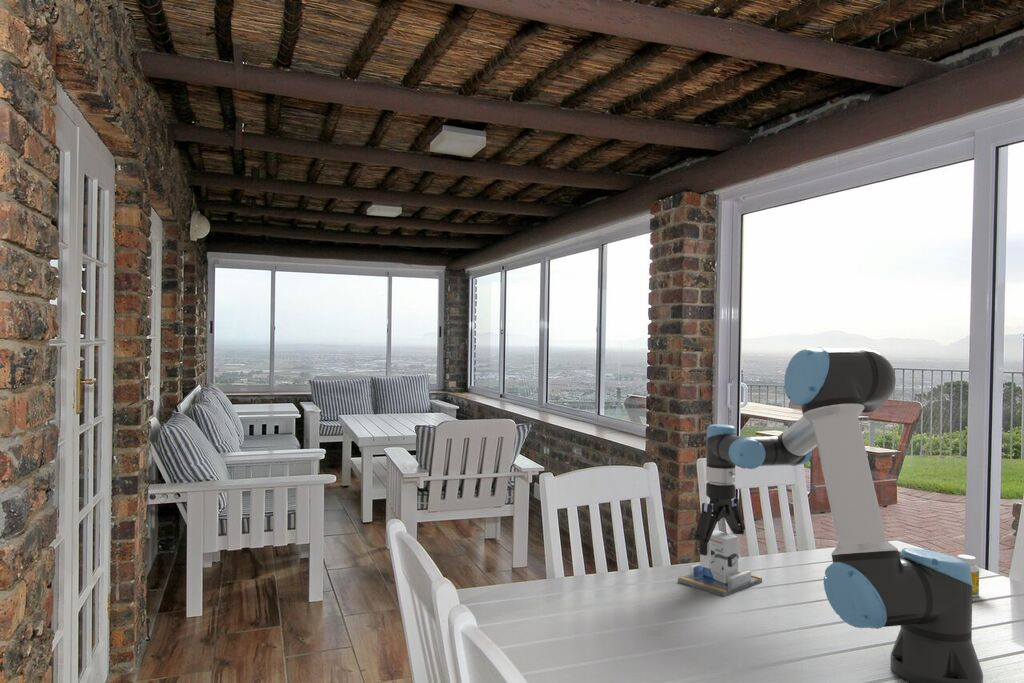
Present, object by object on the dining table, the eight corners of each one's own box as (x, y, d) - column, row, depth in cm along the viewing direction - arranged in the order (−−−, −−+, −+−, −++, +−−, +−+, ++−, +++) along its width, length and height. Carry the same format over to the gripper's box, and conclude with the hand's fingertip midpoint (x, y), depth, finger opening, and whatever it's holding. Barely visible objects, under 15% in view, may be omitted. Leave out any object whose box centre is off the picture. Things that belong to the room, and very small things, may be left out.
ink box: (701, 574, 189) (702, 531, 189) (715, 572, 192) (715, 529, 192) (724, 584, 182) (725, 539, 182) (738, 581, 184) (739, 536, 184)
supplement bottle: (952, 589, 183) (952, 552, 183) (976, 592, 181) (976, 555, 181) (956, 595, 178) (956, 558, 178) (981, 599, 176) (981, 560, 176)
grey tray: (723, 596, 175) (724, 582, 176) (677, 582, 186) (677, 568, 186) (762, 581, 187) (762, 568, 187) (716, 569, 198) (716, 556, 198)
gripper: (705, 490, 176) (704, 574, 176) (758, 479, 192) (758, 556, 192) (680, 485, 182) (680, 567, 182) (734, 475, 198) (733, 550, 198)
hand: (720, 562), depth 187 cm, fingers open, 13 cm apart
